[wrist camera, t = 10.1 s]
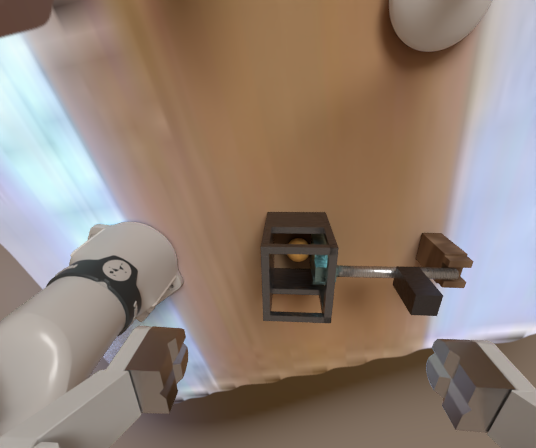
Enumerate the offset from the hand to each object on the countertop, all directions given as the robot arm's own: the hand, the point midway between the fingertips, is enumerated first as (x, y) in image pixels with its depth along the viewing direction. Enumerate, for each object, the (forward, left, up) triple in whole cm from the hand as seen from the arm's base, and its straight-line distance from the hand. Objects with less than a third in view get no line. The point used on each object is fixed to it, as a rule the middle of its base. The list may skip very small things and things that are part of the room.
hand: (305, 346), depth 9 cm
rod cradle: (+4, -27, -34) cm, 44 cm away
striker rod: (-2, -19, -33) cm, 39 cm away
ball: (-10, -10, -32) cm, 35 cm away
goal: (-10, -10, -34) cm, 37 cm away
